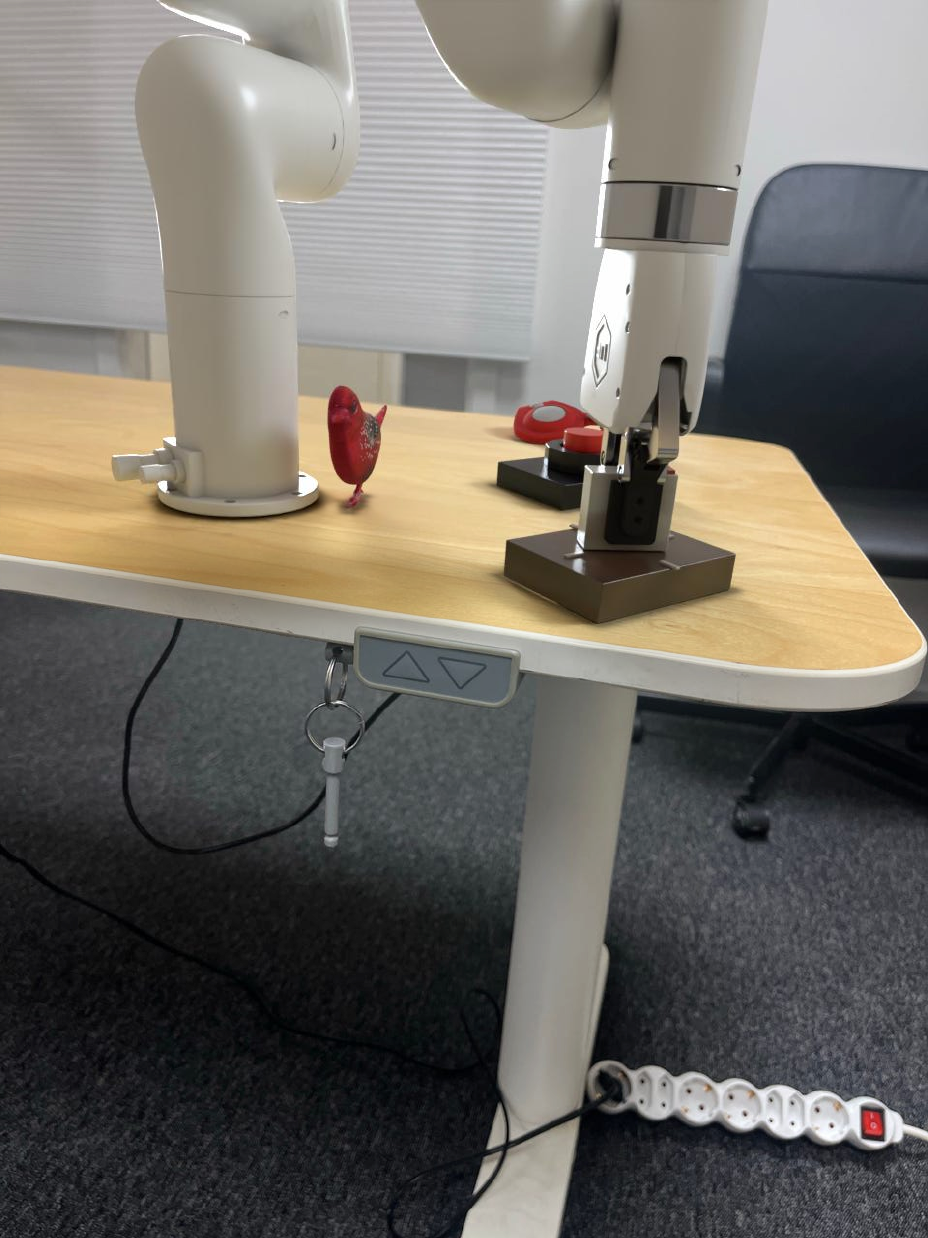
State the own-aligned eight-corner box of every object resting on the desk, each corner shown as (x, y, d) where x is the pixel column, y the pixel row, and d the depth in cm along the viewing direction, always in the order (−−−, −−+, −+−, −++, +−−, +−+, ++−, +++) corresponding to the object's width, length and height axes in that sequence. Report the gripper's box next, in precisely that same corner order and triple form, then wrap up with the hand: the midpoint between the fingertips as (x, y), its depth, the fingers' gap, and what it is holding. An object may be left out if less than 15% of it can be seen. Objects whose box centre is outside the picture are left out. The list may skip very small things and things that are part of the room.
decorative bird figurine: (314, 525, 66) (312, 388, 62) (369, 471, 82) (371, 360, 78) (351, 529, 66) (352, 391, 62) (400, 474, 82) (403, 362, 78)
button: (581, 457, 77) (583, 436, 76) (554, 448, 79) (556, 428, 79) (611, 453, 79) (614, 433, 78) (584, 445, 81) (586, 426, 81)
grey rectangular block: (583, 550, 56) (592, 468, 54) (576, 540, 58) (585, 460, 56) (667, 551, 57) (679, 471, 55) (657, 541, 59) (669, 463, 57)
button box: (561, 511, 74) (566, 463, 72) (495, 485, 80) (498, 441, 79) (661, 495, 80) (667, 451, 79) (592, 472, 87) (597, 431, 85)
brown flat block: (601, 626, 52) (607, 583, 51) (499, 574, 59) (502, 535, 58) (734, 591, 58) (741, 552, 57) (628, 548, 65) (633, 513, 64)
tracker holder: (526, 436, 96) (498, 398, 103) (529, 472, 98) (501, 432, 106) (631, 411, 97) (595, 375, 105) (630, 447, 100) (595, 410, 108)
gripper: (569, 222, 57) (542, 501, 64) (639, 217, 42) (595, 579, 50) (681, 229, 58) (643, 503, 65) (789, 227, 43) (724, 581, 50)
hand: (623, 534), depth 57 cm, fingers closed on grey rectangular block, 2 cm apart
